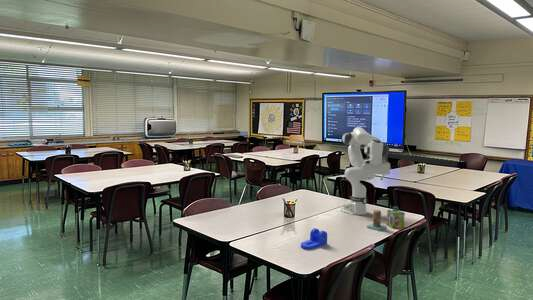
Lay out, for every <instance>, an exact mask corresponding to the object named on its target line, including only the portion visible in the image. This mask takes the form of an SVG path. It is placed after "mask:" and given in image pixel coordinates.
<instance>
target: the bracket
mask: <svg viewBox="0 0 533 300" xmlns="http://www.w3.org/2000/svg"><path fill="white" fill-rule="evenodd" d="M327 244H328V232H327V231H325V230H320V229H319V228H315V227H314V228H312V229H311V230H310V233H309V239H308V240H305V241H302V242H301V243H300V248H301V249H302V248H303V249H304V250H309V251H310V250H314V249H316V248H317V249H318V248H319V247H322V246H325V245H327ZM303 249H302V250H303Z"/></svg>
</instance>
